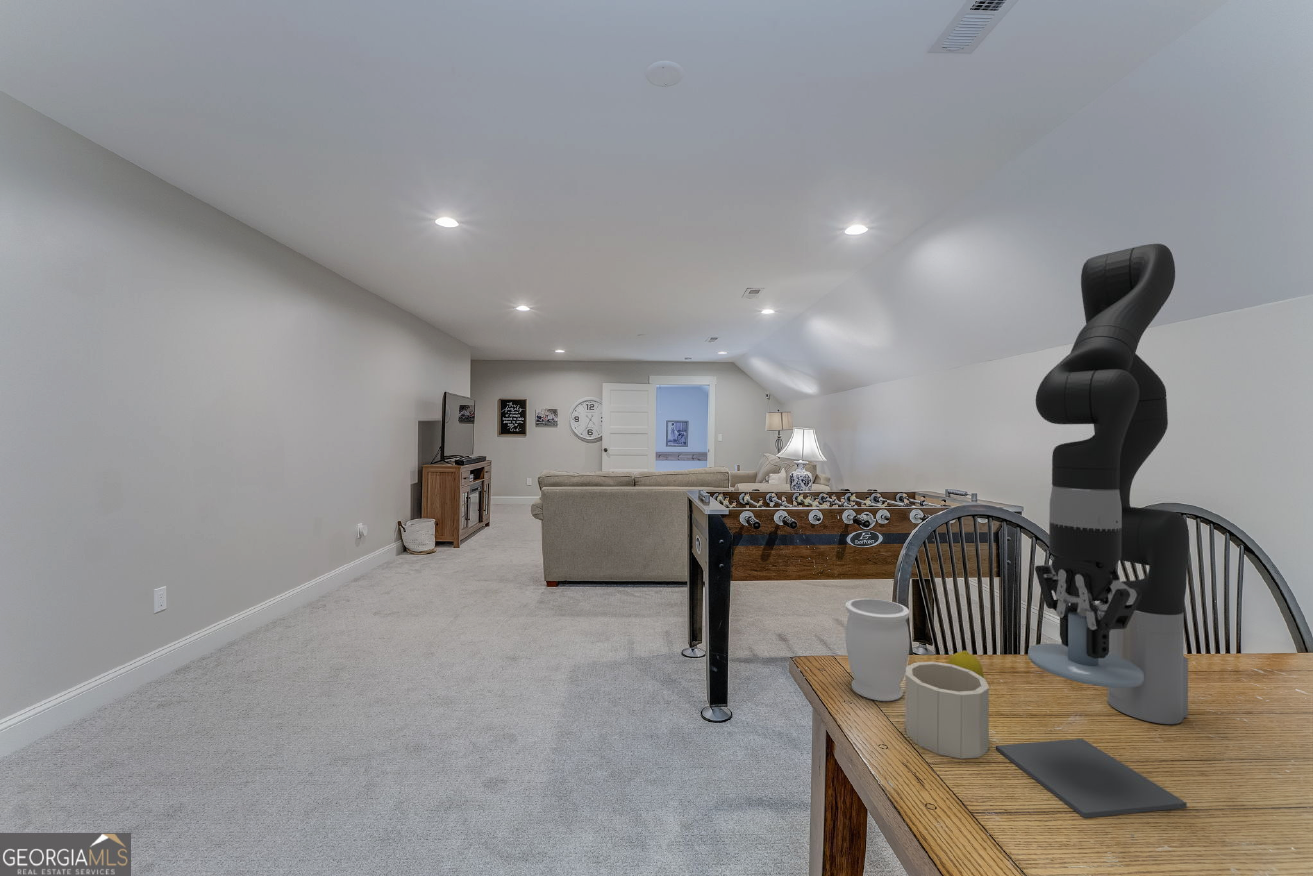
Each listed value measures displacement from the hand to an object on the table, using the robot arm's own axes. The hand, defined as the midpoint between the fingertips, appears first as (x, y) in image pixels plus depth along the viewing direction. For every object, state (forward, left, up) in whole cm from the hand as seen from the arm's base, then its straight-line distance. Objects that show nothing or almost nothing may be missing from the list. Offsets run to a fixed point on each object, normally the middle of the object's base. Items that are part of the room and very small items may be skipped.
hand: (1083, 650), depth 72 cm
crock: (+12, -11, -17) cm, 23 cm away
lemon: (0, -22, -17) cm, 28 cm away
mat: (0, 0, -17) cm, 17 cm away
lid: (0, 0, -2) cm, 2 cm away
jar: (+14, -26, -17) cm, 34 cm away
